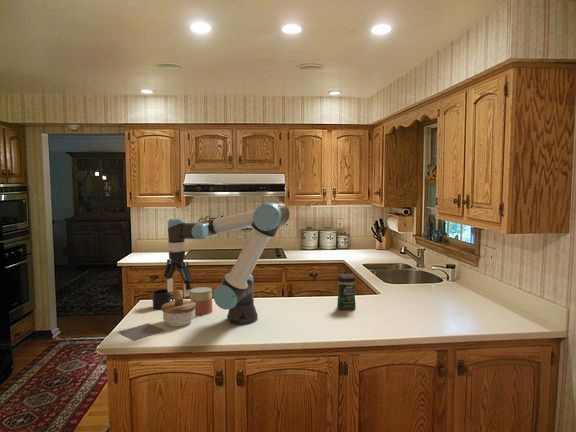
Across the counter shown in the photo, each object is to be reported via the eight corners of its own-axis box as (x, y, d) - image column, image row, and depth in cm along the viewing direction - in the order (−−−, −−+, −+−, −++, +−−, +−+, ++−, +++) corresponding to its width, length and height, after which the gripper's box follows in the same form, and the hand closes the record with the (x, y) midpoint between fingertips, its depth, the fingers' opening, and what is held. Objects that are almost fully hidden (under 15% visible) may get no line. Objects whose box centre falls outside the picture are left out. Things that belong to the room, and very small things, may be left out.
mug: (168, 311, 223) (168, 294, 223) (149, 309, 227) (148, 293, 226) (178, 305, 232) (177, 290, 232) (159, 304, 236) (158, 288, 235)
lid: (202, 307, 203) (201, 290, 202) (173, 315, 191) (172, 297, 190) (184, 301, 214) (183, 284, 213) (155, 308, 202) (154, 291, 201)
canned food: (209, 307, 228) (208, 286, 227) (215, 313, 218) (214, 291, 217) (188, 310, 223) (188, 288, 222) (193, 316, 213) (192, 293, 212)
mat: (166, 331, 193) (166, 330, 193) (134, 341, 181) (134, 340, 181) (147, 323, 203) (147, 323, 203) (116, 333, 191) (116, 332, 191)
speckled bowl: (178, 331, 193) (177, 314, 192) (156, 325, 201) (156, 309, 200) (202, 321, 205) (201, 306, 205) (180, 316, 214) (180, 301, 213)
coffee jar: (339, 311, 219) (339, 276, 217) (336, 306, 227) (335, 272, 225) (357, 310, 219) (357, 275, 218) (353, 305, 227) (353, 272, 226)
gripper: (199, 252, 195) (200, 296, 197) (168, 247, 211) (170, 288, 213) (185, 254, 189) (187, 300, 191) (155, 249, 205) (157, 291, 207)
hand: (178, 294), depth 202 cm, fingers open, 13 cm apart
